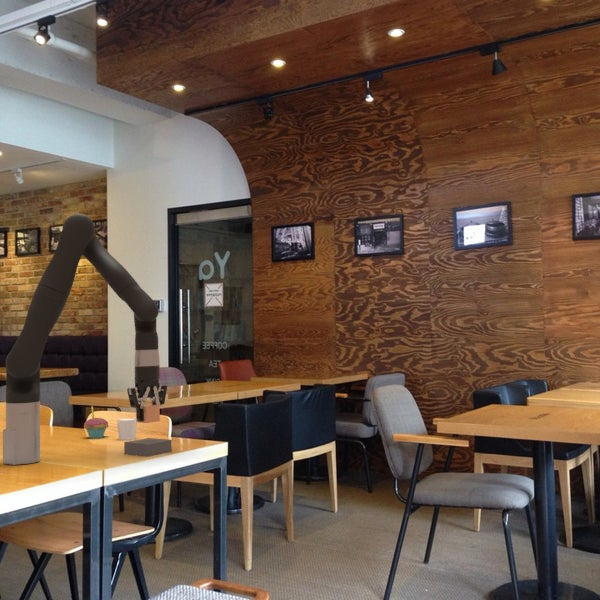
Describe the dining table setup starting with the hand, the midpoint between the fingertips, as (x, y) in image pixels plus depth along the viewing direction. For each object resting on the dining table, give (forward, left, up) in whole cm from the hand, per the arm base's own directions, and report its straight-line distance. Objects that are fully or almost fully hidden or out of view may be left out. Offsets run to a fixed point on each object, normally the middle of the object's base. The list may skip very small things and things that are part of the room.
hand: (148, 420), depth 212 cm
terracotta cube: (0, 0, 0) cm, 0 cm away
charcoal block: (0, 0, -10) cm, 10 cm away
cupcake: (+13, +45, -10) cm, 48 cm away
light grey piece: (+16, +31, -10) cm, 36 cm away
